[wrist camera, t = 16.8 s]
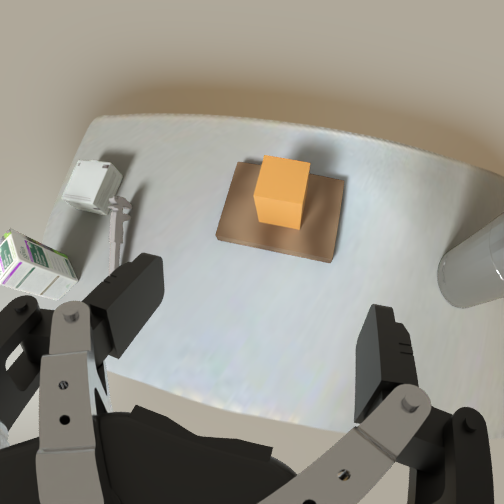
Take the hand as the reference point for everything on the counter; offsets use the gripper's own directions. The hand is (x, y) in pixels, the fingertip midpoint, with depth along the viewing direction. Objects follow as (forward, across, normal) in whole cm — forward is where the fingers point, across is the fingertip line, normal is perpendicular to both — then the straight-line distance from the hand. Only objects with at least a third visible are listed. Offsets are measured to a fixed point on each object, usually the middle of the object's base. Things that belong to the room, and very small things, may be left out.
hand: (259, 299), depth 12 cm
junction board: (+33, +3, +10) cm, 35 cm away
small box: (+32, +35, +12) cm, 49 cm away
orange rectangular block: (+32, +3, +9) cm, 33 cm away
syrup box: (+21, +36, +23) cm, 47 cm away
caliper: (+24, +25, +20) cm, 40 cm away
